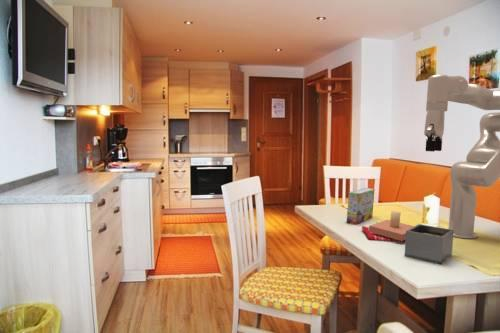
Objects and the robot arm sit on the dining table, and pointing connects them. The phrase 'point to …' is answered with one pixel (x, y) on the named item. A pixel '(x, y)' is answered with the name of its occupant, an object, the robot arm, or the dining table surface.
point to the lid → (391, 227)
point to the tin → (429, 243)
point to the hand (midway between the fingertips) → (433, 151)
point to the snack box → (360, 205)
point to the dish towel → (378, 236)
